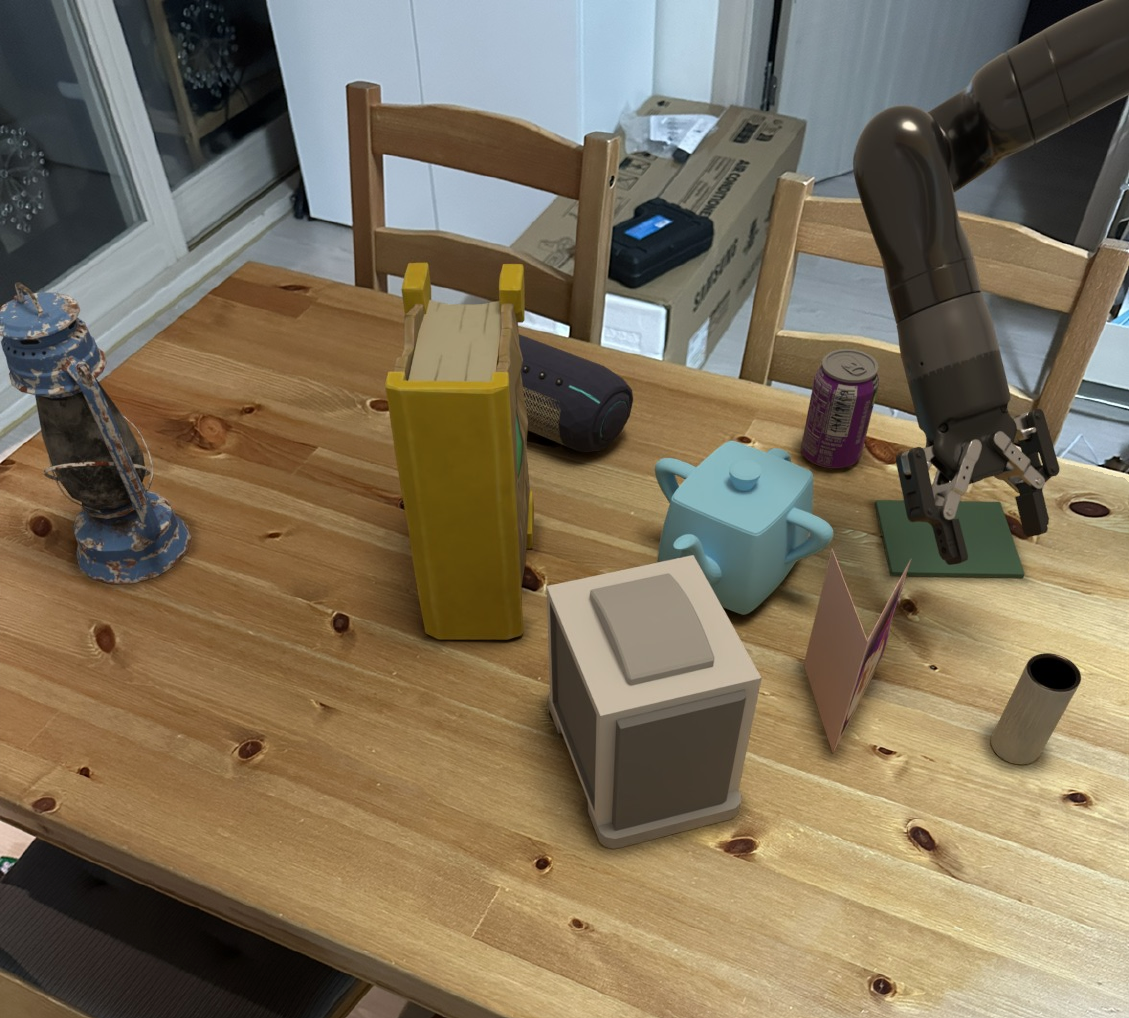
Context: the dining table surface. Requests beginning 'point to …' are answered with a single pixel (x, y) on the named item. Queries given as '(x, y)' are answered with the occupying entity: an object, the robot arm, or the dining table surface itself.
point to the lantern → (89, 442)
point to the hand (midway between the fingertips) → (997, 548)
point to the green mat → (917, 543)
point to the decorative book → (464, 456)
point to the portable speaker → (572, 397)
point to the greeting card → (843, 651)
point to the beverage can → (840, 408)
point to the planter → (1035, 708)
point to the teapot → (740, 520)
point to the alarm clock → (650, 698)
